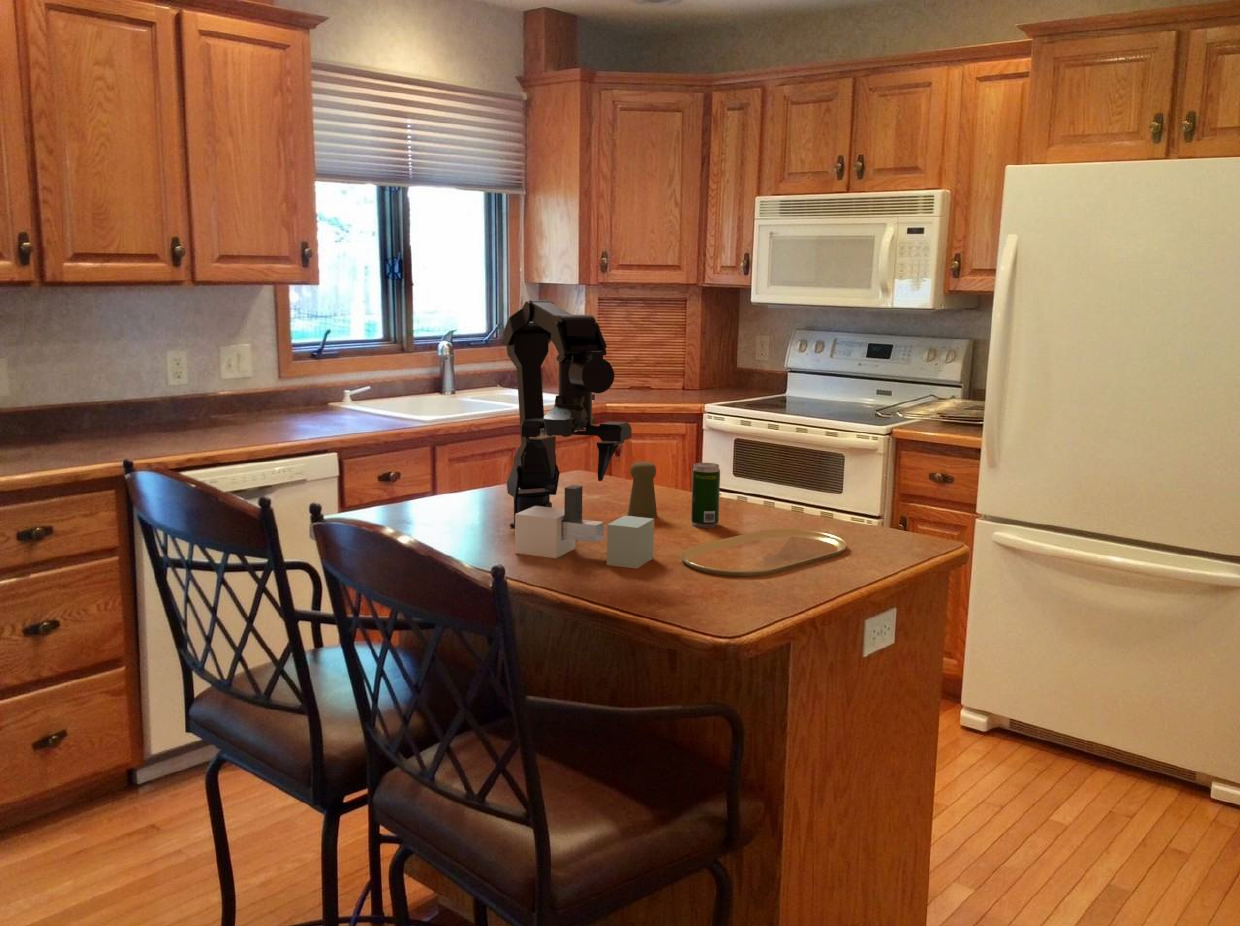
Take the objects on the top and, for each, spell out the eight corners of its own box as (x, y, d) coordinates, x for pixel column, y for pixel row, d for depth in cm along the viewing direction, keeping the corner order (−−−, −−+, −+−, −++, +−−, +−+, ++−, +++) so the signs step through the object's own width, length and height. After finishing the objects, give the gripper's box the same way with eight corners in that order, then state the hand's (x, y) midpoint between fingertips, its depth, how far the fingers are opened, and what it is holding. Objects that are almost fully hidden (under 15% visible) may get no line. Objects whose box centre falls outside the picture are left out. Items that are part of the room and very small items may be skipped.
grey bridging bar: (518, 533, 191) (518, 483, 189) (526, 529, 194) (526, 480, 192) (596, 542, 185) (596, 491, 184) (603, 538, 188) (604, 488, 186)
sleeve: (515, 553, 189) (515, 514, 188) (535, 543, 196) (535, 505, 195) (556, 558, 186) (556, 518, 185) (575, 548, 193) (575, 510, 192)
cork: (654, 519, 217) (655, 465, 215) (625, 518, 218) (625, 464, 216) (659, 513, 223) (660, 460, 221) (630, 511, 224) (631, 459, 222)
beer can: (723, 526, 212) (725, 466, 210) (699, 528, 210) (701, 468, 207) (709, 520, 217) (711, 461, 215) (686, 523, 214) (687, 463, 212)
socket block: (606, 564, 183) (607, 524, 181) (624, 554, 190) (624, 515, 188) (636, 568, 181) (637, 527, 179) (653, 558, 187) (654, 518, 186)
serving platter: (658, 563, 186) (658, 554, 186) (784, 532, 210) (785, 524, 210) (742, 586, 173) (742, 577, 172) (866, 550, 196) (867, 542, 196)
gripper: (504, 390, 181) (505, 483, 183) (608, 394, 174) (608, 490, 176) (534, 386, 191) (534, 473, 193) (632, 389, 184) (632, 480, 186)
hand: (575, 479), depth 187 cm, fingers open, 9 cm apart
